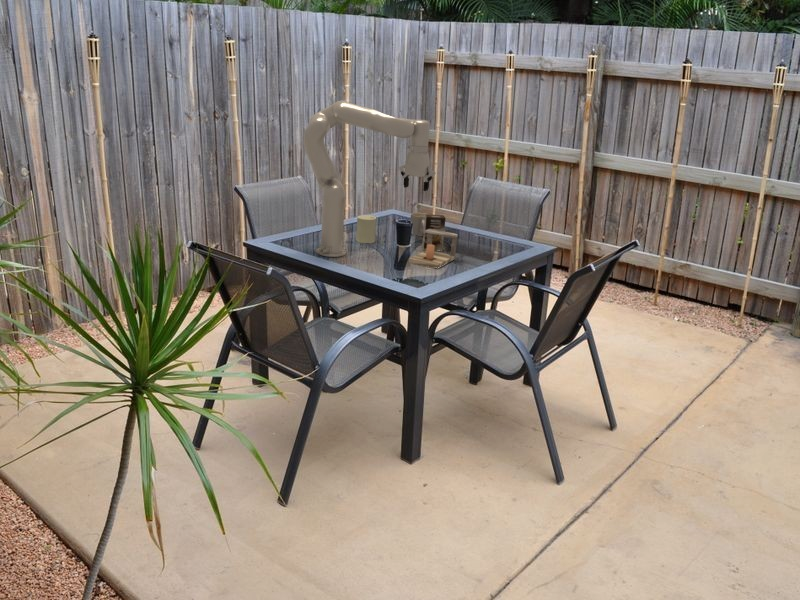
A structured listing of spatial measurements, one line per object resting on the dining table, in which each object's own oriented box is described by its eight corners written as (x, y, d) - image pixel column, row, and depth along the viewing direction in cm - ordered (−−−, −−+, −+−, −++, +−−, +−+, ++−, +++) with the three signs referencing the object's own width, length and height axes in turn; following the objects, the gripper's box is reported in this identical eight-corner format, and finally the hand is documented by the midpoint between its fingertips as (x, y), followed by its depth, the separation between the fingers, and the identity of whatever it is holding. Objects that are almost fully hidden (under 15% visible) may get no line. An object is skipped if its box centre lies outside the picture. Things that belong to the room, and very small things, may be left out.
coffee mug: (408, 231, 372) (410, 211, 369) (428, 232, 373) (429, 213, 370) (410, 237, 360) (411, 218, 356) (430, 239, 360) (432, 219, 357)
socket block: (437, 269, 313) (440, 242, 309) (408, 262, 319) (410, 236, 315) (455, 260, 328) (457, 234, 324) (427, 254, 334) (429, 228, 330)
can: (374, 244, 344) (376, 219, 340) (355, 242, 344) (356, 217, 340) (375, 239, 352) (377, 214, 348) (356, 237, 352) (357, 213, 348)
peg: (430, 264, 319) (432, 246, 316) (423, 263, 320) (425, 245, 317) (434, 262, 321) (435, 245, 319) (427, 261, 323) (429, 243, 320)
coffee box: (423, 251, 339) (426, 216, 333) (421, 247, 345) (424, 213, 339) (442, 251, 340) (445, 217, 334) (440, 248, 346) (443, 214, 340)
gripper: (397, 147, 315) (394, 186, 321) (433, 152, 307) (429, 193, 313) (405, 146, 321) (402, 184, 327) (440, 151, 314) (437, 190, 319)
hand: (415, 188), depth 320 cm, fingers open, 9 cm apart
